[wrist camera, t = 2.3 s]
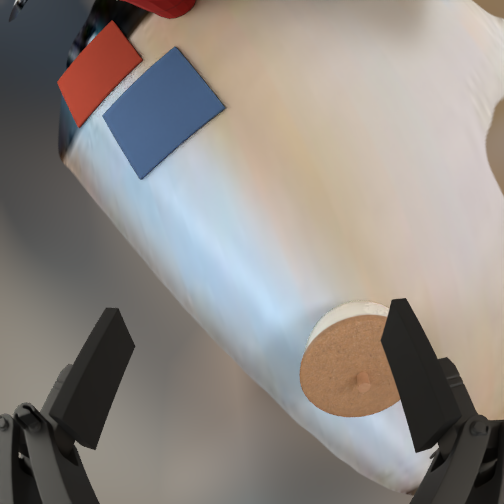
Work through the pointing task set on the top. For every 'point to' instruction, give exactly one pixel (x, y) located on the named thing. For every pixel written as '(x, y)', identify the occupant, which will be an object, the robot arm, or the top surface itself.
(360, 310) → the white bowl with cork
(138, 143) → the blue mat
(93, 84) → the red mat
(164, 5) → the plastic cup
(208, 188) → the top surface
